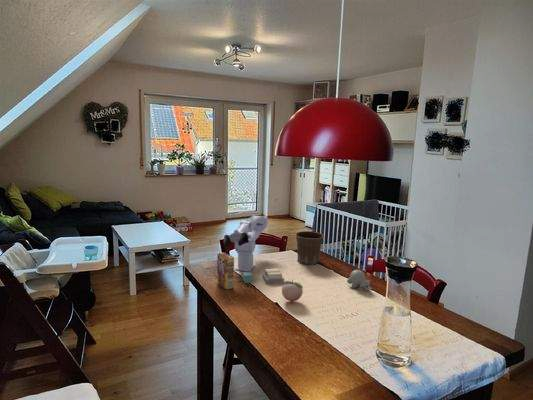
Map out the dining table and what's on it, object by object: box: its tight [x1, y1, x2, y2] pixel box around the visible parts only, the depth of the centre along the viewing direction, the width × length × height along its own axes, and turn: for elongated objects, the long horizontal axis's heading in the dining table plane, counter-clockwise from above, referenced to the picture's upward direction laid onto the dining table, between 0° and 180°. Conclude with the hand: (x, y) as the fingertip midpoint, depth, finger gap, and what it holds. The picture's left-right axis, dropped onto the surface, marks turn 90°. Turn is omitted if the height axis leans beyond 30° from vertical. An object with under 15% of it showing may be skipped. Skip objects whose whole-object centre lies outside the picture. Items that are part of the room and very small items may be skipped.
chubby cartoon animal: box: [346, 269, 372, 293], centre depth 164 cm, size 7×12×8 cm, turn 37°
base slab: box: [261, 272, 285, 285], centre depth 172 cm, size 9×9×2 cm
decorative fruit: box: [281, 279, 304, 303], centre depth 148 cm, size 9×8×10 cm
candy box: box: [216, 252, 235, 290], centre depth 163 cm, size 9×4×15 cm, turn 39°
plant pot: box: [295, 230, 325, 266], centre depth 198 cm, size 16×16×16 cm
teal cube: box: [242, 271, 253, 284], centre depth 169 cm, size 4×4×4 cm
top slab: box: [264, 267, 283, 279], centre depth 172 cm, size 7×7×2 cm
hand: (231, 244), depth 163 cm, fingers open, 7 cm apart
